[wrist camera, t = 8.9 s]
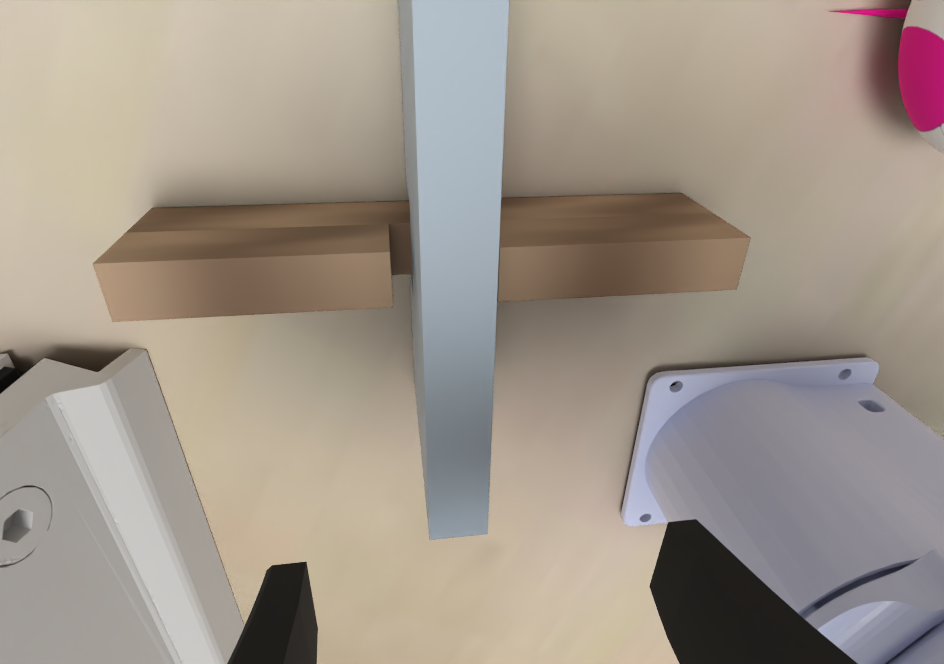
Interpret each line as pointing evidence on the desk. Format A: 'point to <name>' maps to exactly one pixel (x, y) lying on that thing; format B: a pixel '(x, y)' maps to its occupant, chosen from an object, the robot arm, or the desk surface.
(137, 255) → the walnut plate
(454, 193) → the upright grey panel
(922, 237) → the desk surface
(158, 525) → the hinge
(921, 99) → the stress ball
